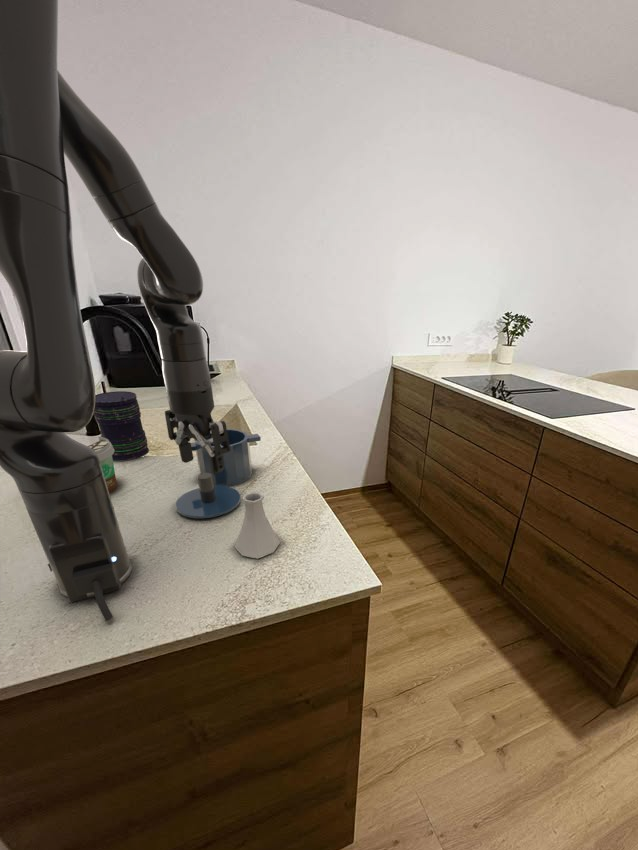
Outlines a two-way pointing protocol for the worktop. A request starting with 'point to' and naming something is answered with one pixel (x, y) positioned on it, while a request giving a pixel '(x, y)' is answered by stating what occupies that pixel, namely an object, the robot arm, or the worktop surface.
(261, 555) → the flask
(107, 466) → the food container
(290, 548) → the worktop surface
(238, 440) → the two-handled cooking pot
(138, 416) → the storage jar
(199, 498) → the pot lid
